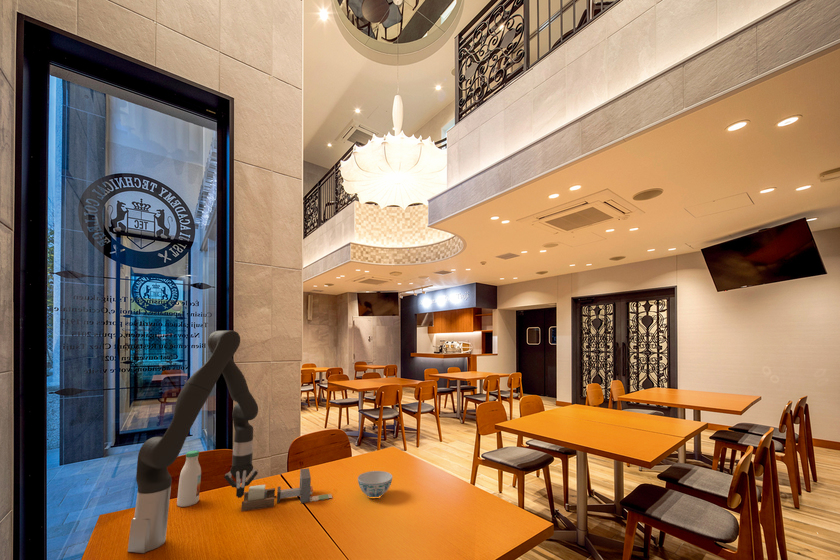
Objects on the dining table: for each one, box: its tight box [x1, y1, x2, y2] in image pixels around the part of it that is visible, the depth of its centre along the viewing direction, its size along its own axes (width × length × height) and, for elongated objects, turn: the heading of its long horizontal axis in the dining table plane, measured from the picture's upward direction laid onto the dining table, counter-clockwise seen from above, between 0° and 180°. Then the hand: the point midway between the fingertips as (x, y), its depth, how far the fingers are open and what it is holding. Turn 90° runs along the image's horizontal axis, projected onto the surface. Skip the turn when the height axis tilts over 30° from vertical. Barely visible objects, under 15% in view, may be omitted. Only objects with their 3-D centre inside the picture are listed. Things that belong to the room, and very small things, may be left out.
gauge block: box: [247, 484, 268, 501], centre depth 152 cm, size 7×6×6 cm
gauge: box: [240, 467, 333, 512], centre depth 156 cm, size 35×13×9 cm, turn 110°
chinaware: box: [357, 470, 393, 497], centre depth 159 cm, size 15×15×8 cm
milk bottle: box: [176, 449, 202, 508], centre depth 153 cm, size 8×8×20 cm
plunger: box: [276, 485, 314, 504], centre depth 156 cm, size 14×8×4 cm, turn 110°
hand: (240, 497), depth 150 cm, fingers closed
